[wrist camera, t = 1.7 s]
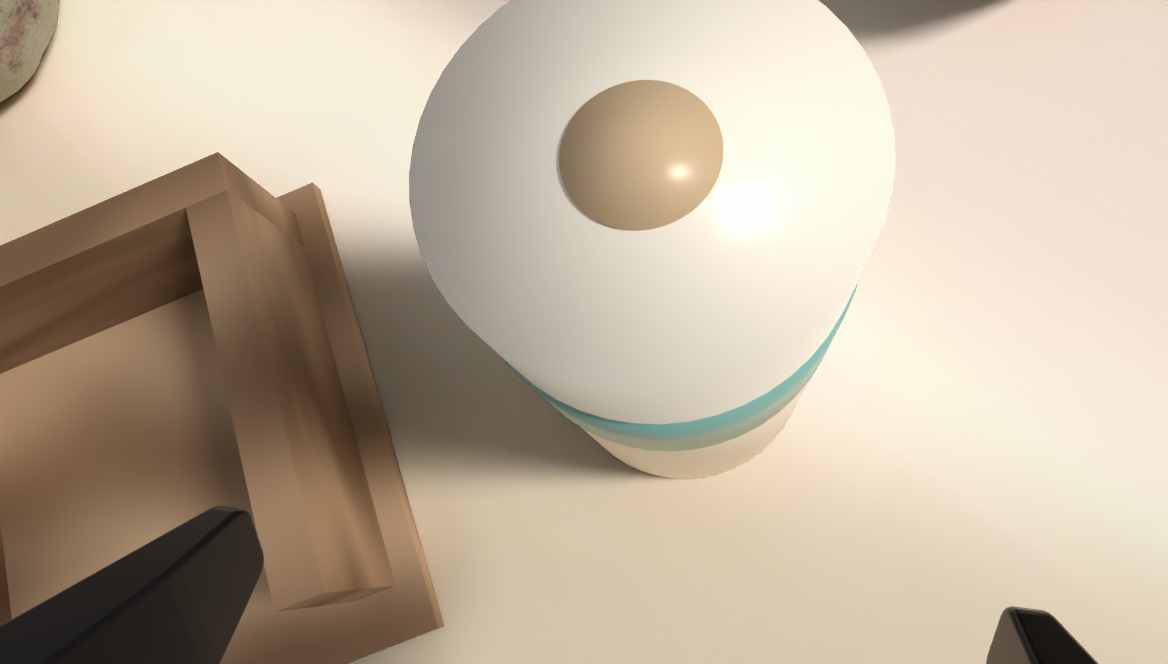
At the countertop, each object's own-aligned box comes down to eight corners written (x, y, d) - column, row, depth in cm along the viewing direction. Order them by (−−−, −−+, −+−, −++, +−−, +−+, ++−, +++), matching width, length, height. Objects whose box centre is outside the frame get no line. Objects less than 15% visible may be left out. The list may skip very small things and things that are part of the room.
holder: (444, 625, 21) (373, 644, 17) (-18, 803, 22) (-197, 864, 18) (320, 189, 25) (238, 116, 21) (-63, 351, 26) (-215, 312, 22)
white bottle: (688, 533, 21) (647, 510, 9) (519, 367, 23) (313, 179, 11) (856, 353, 21) (1014, 120, 10) (676, 206, 23) (632, -130, 12)
